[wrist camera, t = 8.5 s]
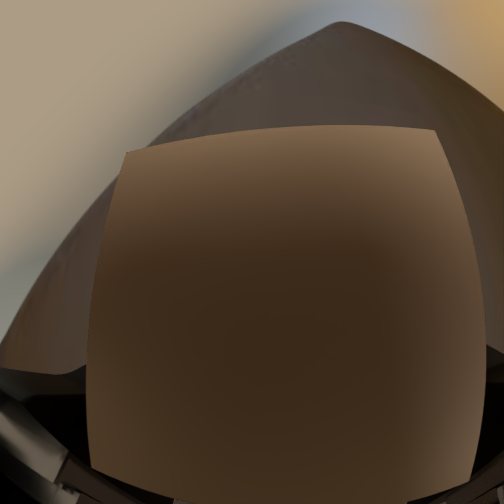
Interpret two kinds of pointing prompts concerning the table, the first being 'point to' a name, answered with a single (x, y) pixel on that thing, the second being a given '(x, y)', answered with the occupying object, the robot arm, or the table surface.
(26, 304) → the table surface
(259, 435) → the walnut block
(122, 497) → the robot arm
